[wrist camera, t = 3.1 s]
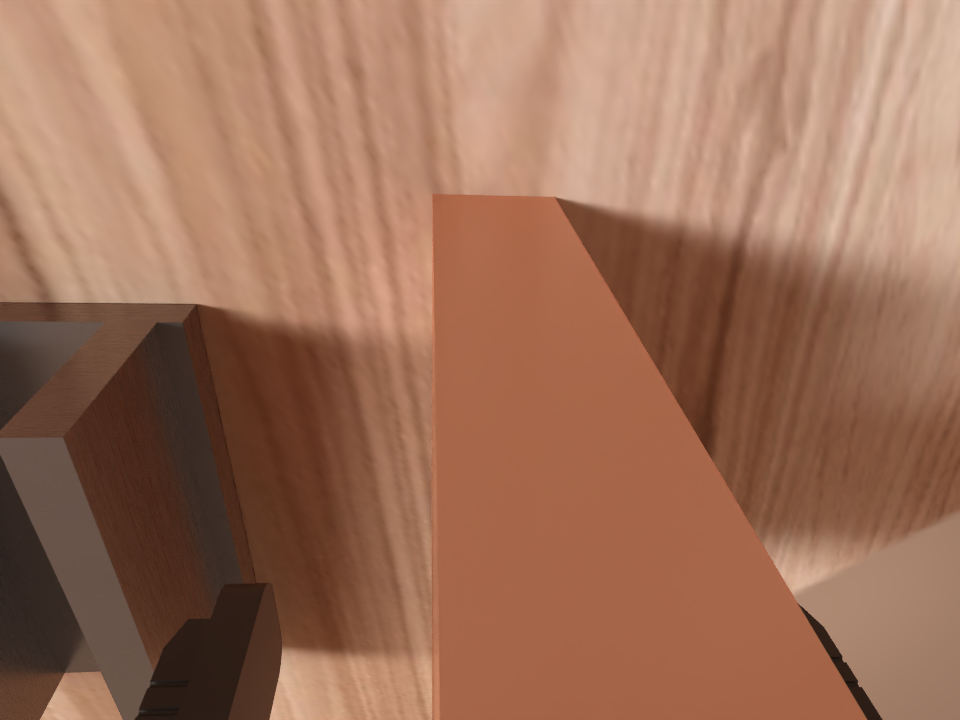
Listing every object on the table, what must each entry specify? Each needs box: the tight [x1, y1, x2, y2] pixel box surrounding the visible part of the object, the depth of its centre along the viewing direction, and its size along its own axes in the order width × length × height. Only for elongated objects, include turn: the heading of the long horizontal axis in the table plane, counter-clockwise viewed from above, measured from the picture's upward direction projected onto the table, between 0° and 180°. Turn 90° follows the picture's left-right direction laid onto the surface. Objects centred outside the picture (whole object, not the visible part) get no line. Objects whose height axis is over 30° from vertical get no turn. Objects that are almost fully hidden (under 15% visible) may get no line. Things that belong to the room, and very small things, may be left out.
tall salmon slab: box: [431, 194, 867, 720], centre depth 12 cm, size 10×3×13 cm, turn 177°
